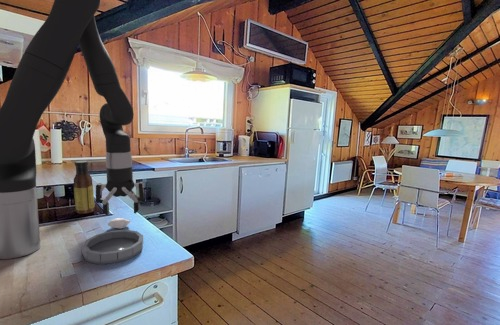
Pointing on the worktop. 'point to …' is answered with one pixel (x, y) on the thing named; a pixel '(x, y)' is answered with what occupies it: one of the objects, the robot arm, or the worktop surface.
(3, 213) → the robot arm
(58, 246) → the worktop surface
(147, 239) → the worktop surface
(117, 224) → the dumpling
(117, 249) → the round dish
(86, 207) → the sauce bottle
